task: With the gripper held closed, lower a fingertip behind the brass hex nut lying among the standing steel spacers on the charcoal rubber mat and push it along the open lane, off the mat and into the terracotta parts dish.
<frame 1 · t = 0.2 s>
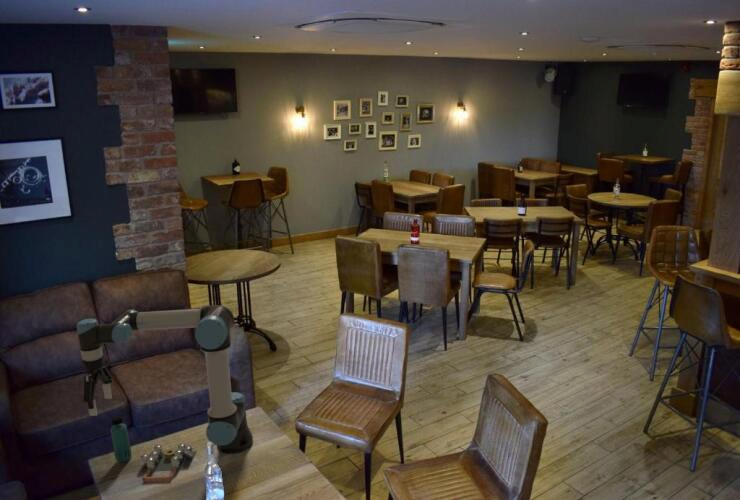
hand: (101, 406, 233), 28 cm above the table, fingers open, 13 cm apart
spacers: (166, 457, 238), on the mat, point 4 cm above the table
nut: (170, 457, 243), point 1 cm above the table, touching mat
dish: (160, 478, 230), on the table
mat: (168, 463, 240), on the table
beverage bottle: (124, 461, 244), on the table
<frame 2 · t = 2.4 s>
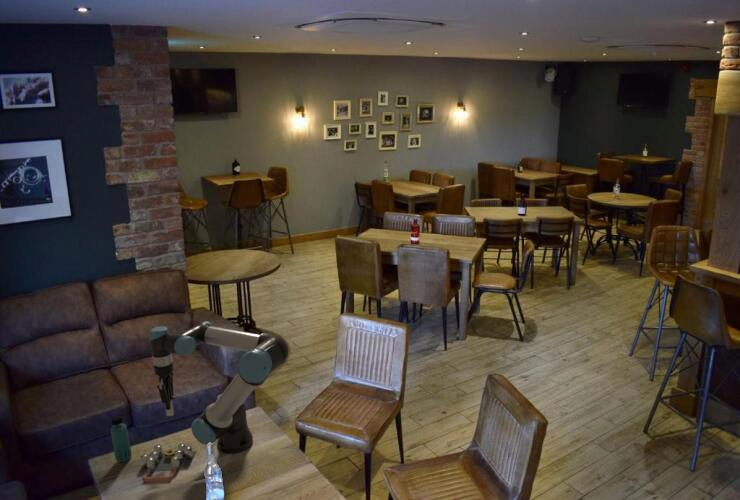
hand: (170, 415, 245), 17 cm above the table, fingers closed
nothing on the table moved.
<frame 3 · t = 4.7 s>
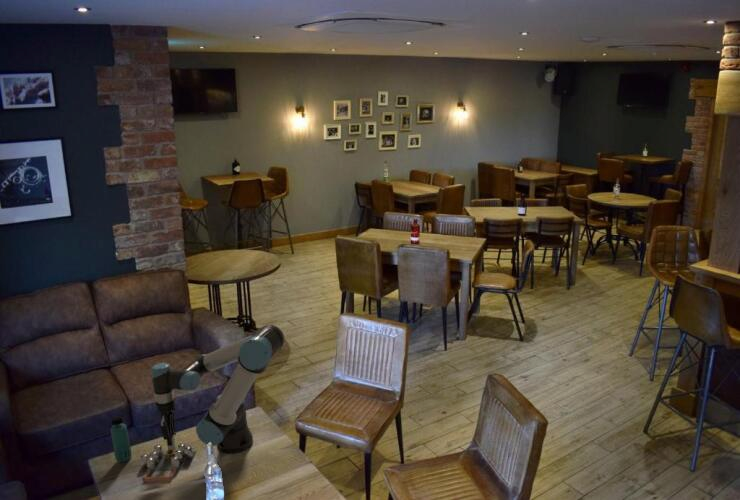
hand: (172, 450, 245), 2 cm above the table, fingers closed
nut: (170, 457, 242), point 1 cm above the table, touching gripper
everything else where it was.
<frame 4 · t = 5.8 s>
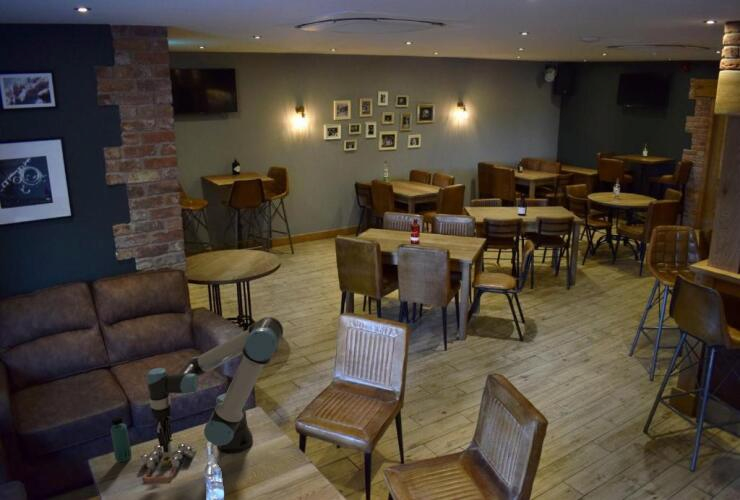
hand: (168, 457, 240), 2 cm above the table, fingers closed
nut: (167, 464, 238), point 1 cm above the table, touching gripper, mat
everything else where it was.
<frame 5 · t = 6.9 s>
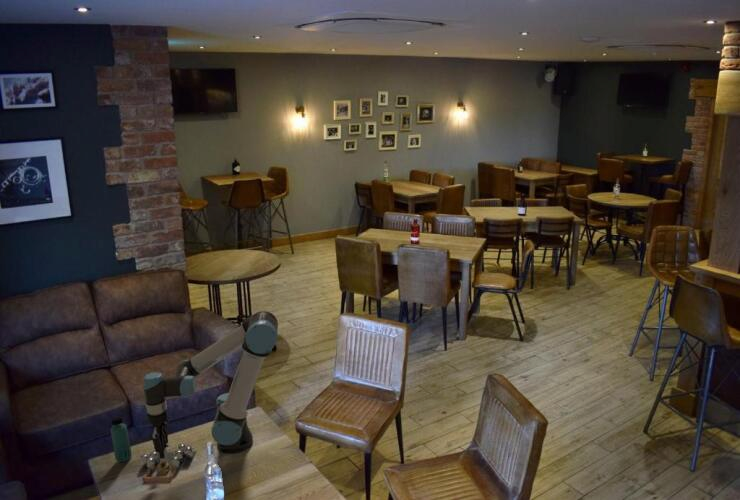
hand: (164, 463, 236), 3 cm above the table, fingers closed
nut: (163, 470, 234), point 1 cm above the table, touching gripper
everything else where it was.
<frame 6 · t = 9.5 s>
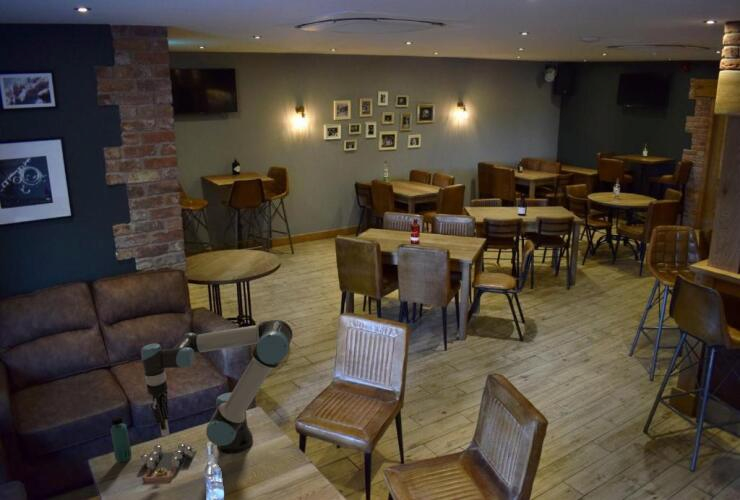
hand: (165, 434, 236), 14 cm above the table, fingers closed
nut: (161, 476, 231), resting on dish
everything else where it was.
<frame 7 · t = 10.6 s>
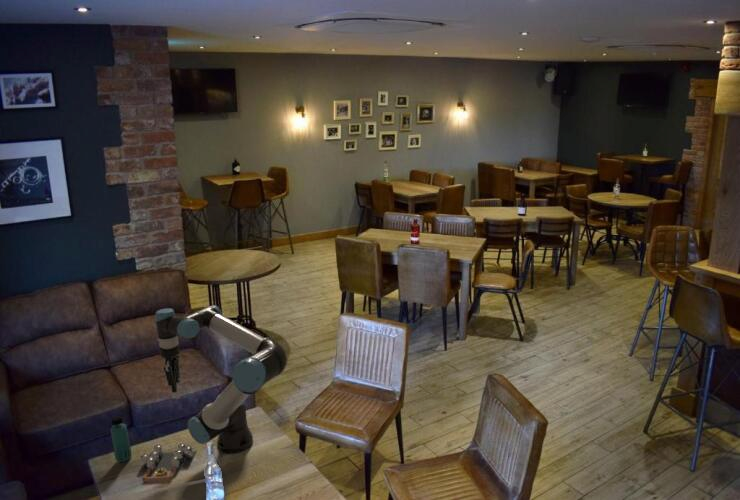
hand: (176, 397, 244), 24 cm above the table, fingers closed
nothing on the table moved.
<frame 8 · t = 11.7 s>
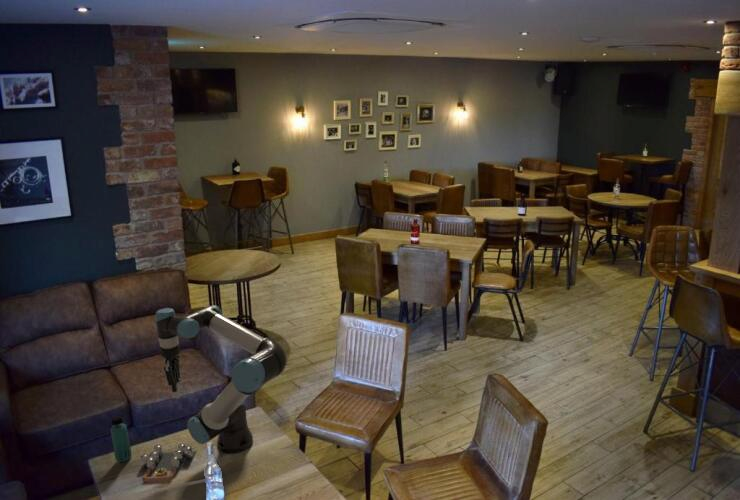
hand: (176, 397, 245), 24 cm above the table, fingers closed
nothing on the table moved.
at the end: nut inside the target area on the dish (0.7 cm from its centre), point 0.4 cm above the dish's base; nut moved 12.6 cm from its start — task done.
